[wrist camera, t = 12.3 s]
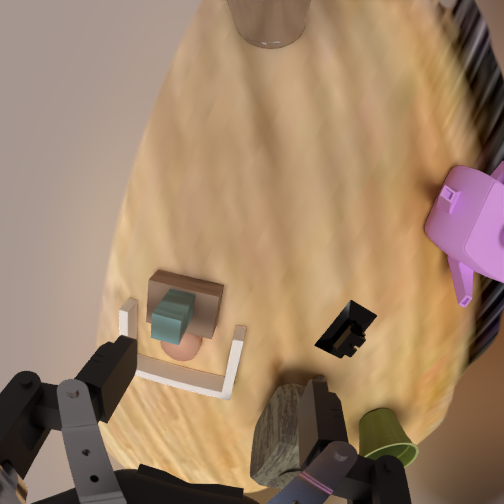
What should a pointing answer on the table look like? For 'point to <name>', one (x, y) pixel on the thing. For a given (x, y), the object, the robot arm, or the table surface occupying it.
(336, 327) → the black angular piece
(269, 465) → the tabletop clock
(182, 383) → the frame
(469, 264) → the teakettle
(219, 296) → the brown and teal block
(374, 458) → the plant pot
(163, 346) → the pink rounded dome
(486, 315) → the table surface
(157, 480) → the robot arm
